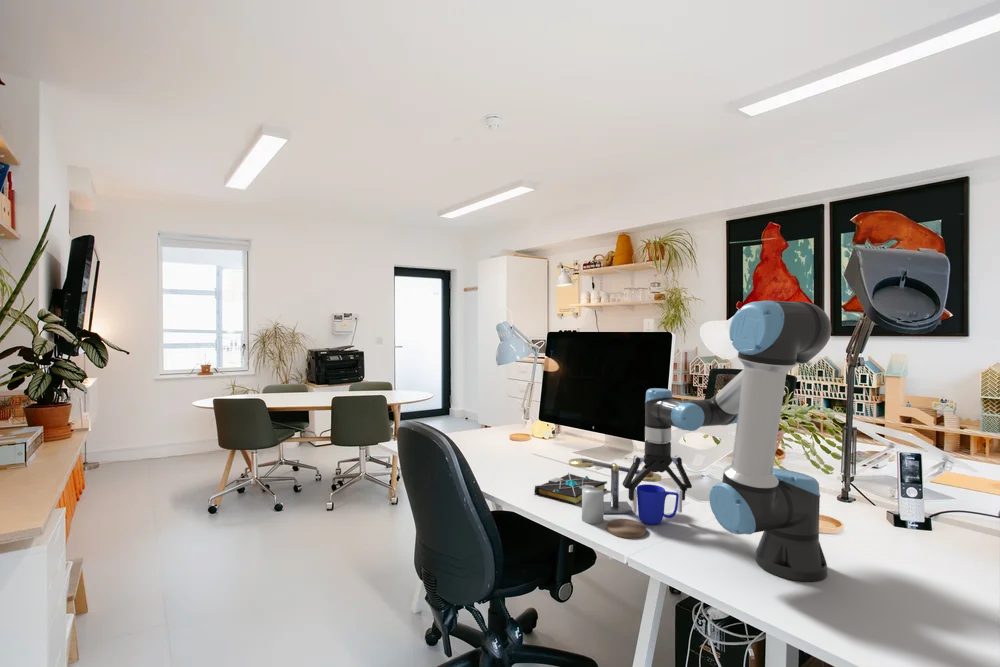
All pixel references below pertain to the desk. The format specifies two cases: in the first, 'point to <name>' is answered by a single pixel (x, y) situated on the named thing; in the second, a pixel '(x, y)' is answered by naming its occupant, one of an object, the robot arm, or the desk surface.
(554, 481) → the book
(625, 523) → the dish
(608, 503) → the balance
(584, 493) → the white cylinder
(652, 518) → the mug
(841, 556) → the desk surface
